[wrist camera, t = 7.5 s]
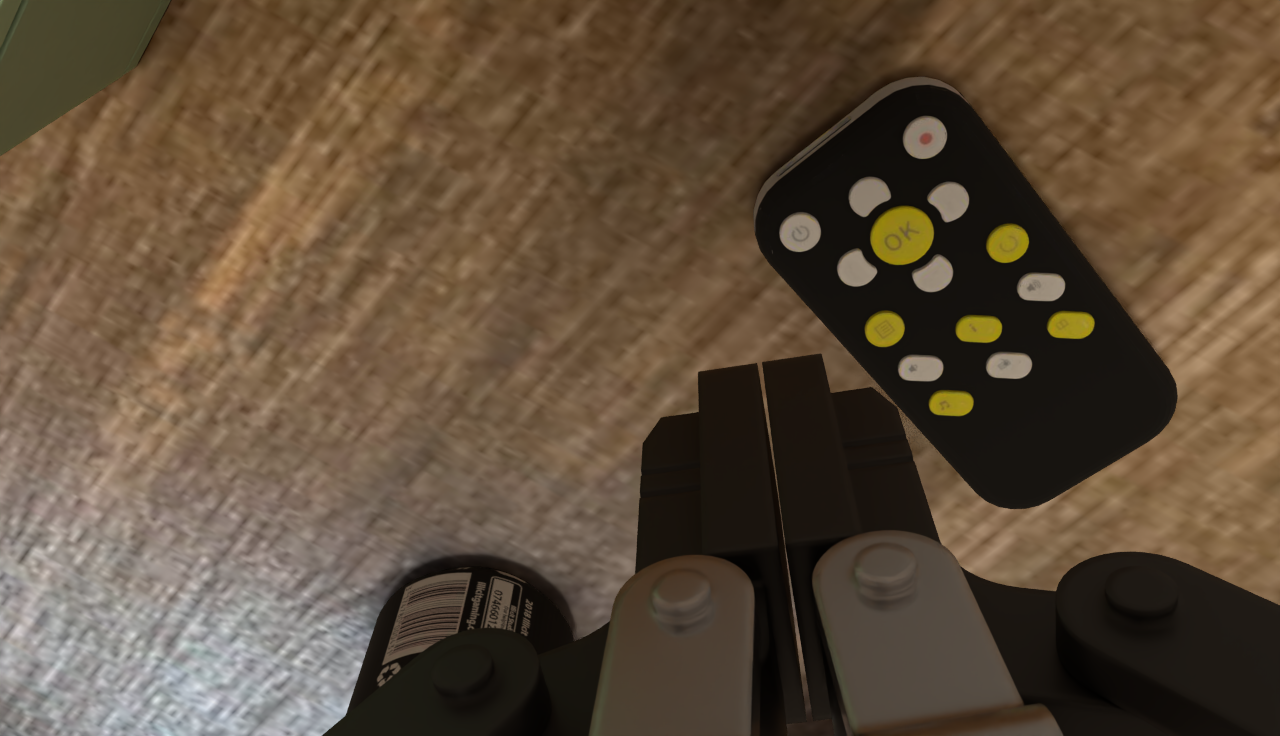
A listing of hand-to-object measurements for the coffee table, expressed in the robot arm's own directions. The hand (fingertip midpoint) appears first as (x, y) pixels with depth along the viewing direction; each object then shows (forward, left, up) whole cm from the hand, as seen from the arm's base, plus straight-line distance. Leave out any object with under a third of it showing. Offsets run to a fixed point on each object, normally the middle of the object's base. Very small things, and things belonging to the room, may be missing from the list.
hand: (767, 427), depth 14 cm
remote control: (+9, +3, -17) cm, 19 cm away
